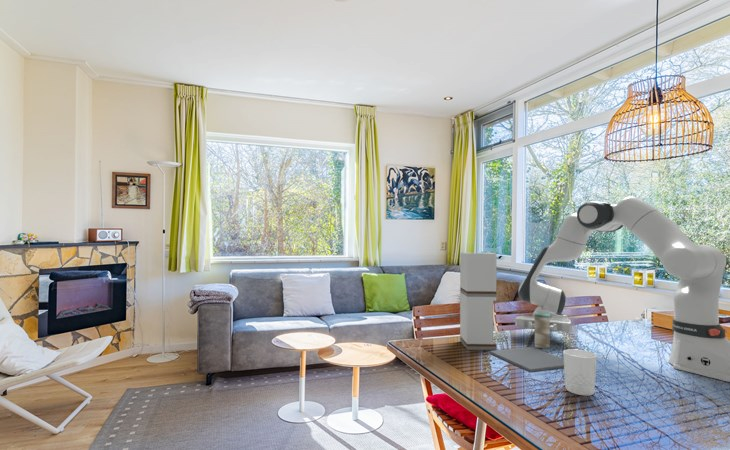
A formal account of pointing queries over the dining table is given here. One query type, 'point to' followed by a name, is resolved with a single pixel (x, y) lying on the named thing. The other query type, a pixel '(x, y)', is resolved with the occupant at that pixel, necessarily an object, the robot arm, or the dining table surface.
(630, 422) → the dining table surface
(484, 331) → the grey square tower
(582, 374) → the white cup
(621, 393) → the dining table surface
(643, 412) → the dining table surface
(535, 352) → the rubber mat
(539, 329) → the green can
